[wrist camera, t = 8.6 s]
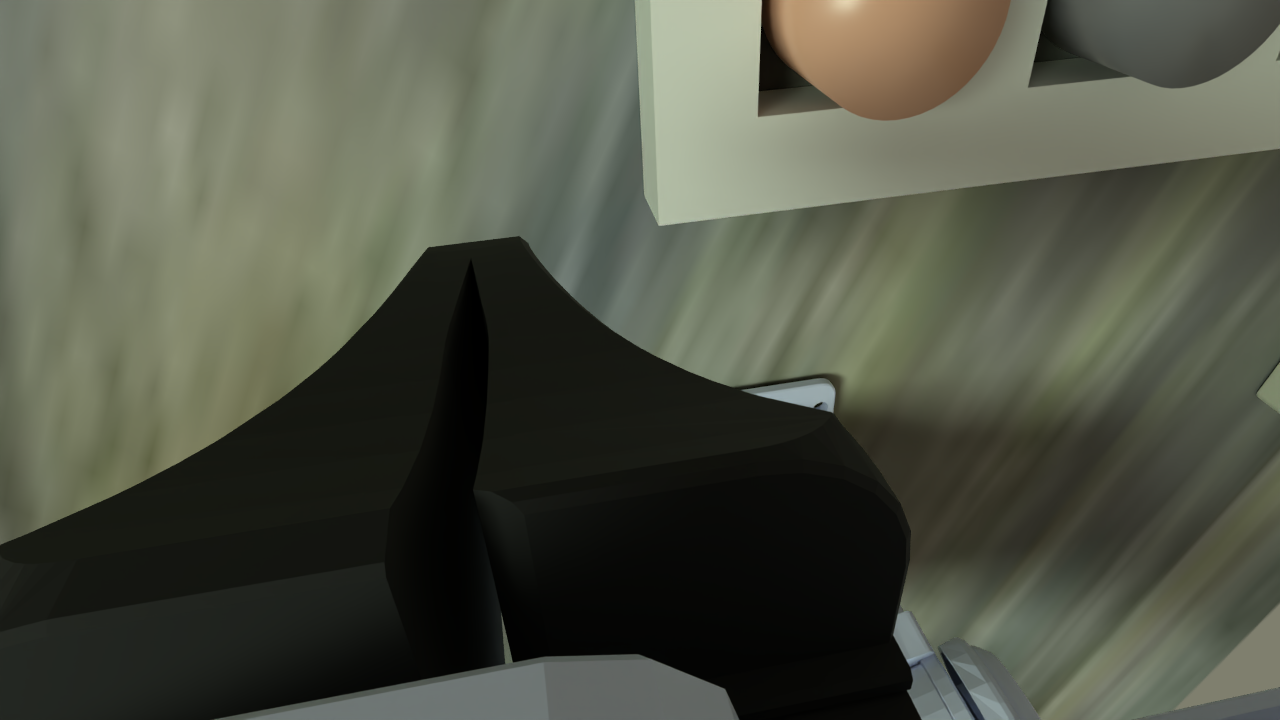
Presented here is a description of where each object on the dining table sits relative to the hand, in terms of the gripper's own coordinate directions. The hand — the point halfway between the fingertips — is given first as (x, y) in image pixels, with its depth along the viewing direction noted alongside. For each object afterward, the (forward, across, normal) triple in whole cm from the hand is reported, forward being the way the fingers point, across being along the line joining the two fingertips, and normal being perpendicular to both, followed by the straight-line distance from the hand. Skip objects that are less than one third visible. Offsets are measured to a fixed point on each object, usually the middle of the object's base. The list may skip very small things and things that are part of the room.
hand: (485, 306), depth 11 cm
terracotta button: (+10, -9, -2) cm, 13 cm away
